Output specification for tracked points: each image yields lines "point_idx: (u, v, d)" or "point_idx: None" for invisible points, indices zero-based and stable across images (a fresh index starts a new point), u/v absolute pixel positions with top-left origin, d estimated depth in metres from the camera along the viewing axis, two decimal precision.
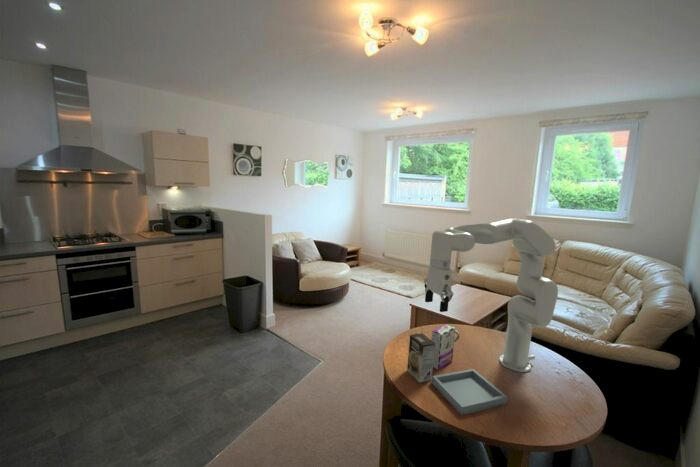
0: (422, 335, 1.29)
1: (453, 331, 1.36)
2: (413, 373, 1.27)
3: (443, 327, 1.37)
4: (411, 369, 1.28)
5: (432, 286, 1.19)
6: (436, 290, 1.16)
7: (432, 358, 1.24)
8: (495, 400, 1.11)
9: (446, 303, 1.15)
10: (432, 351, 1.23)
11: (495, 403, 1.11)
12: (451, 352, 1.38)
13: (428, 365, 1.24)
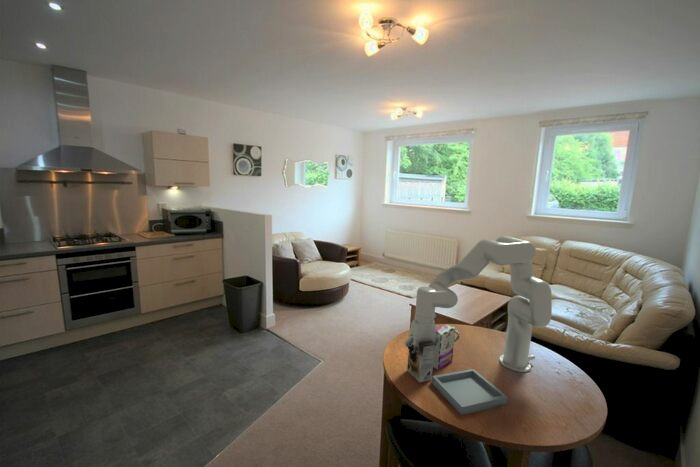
0: None
1: (453, 331, 1.36)
2: (413, 373, 1.27)
3: (443, 327, 1.37)
4: (411, 369, 1.28)
5: (425, 341, 1.24)
6: None
7: (432, 358, 1.24)
8: (495, 400, 1.11)
9: None
10: (432, 351, 1.23)
11: (495, 403, 1.11)
12: (451, 352, 1.38)
13: (428, 365, 1.24)
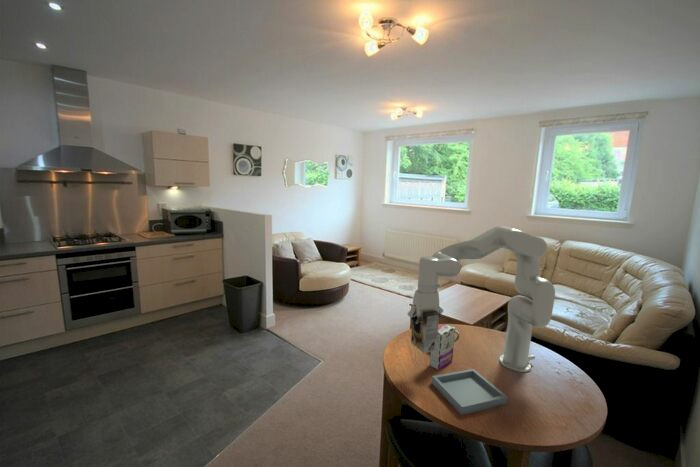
0: None
1: (453, 331, 1.36)
2: (417, 344, 1.25)
3: (443, 327, 1.37)
4: (415, 341, 1.26)
5: (429, 311, 1.22)
6: None
7: (436, 328, 1.22)
8: (495, 400, 1.11)
9: None
10: (436, 321, 1.21)
11: (495, 403, 1.11)
12: (451, 352, 1.38)
13: (432, 335, 1.22)
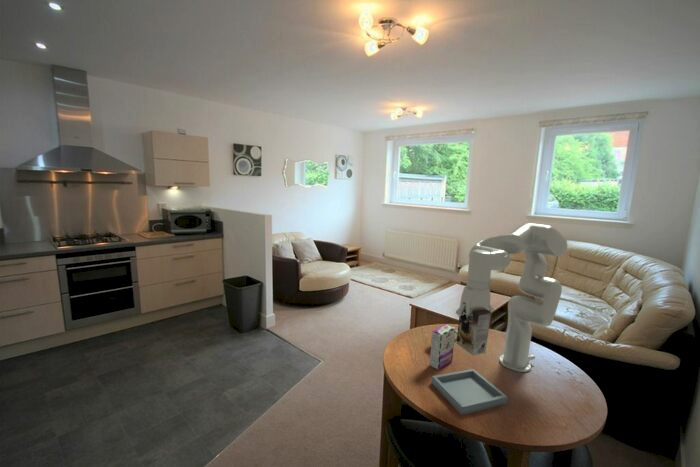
0: None
1: (453, 331, 1.36)
2: (465, 346, 1.15)
3: (443, 327, 1.37)
4: (462, 342, 1.16)
5: (479, 309, 1.12)
6: None
7: (487, 328, 1.12)
8: (495, 400, 1.11)
9: None
10: (487, 320, 1.11)
11: (495, 403, 1.11)
12: (451, 352, 1.38)
13: (483, 336, 1.11)
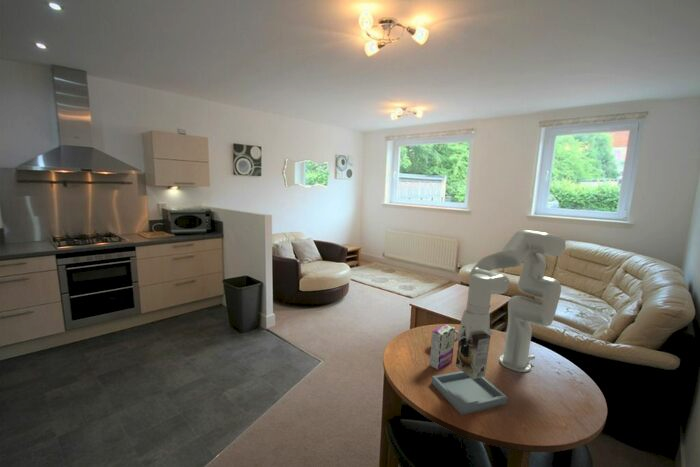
0: None
1: (453, 331, 1.36)
2: (464, 369, 1.15)
3: (443, 327, 1.37)
4: (461, 365, 1.17)
5: (479, 333, 1.12)
6: None
7: (486, 352, 1.12)
8: (495, 400, 1.11)
9: None
10: (487, 345, 1.12)
11: (495, 403, 1.11)
12: (451, 352, 1.38)
13: (482, 360, 1.12)
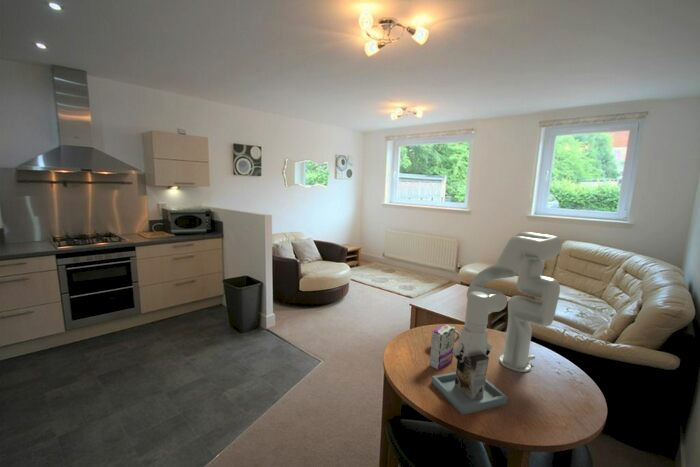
0: None
1: (453, 331, 1.36)
2: (462, 389, 1.17)
3: (443, 327, 1.37)
4: (460, 385, 1.18)
5: (477, 351, 1.13)
6: (482, 352, 1.15)
7: (485, 373, 1.14)
8: (495, 400, 1.11)
9: None
10: (485, 366, 1.13)
11: (495, 403, 1.11)
12: (451, 352, 1.38)
13: (481, 381, 1.14)
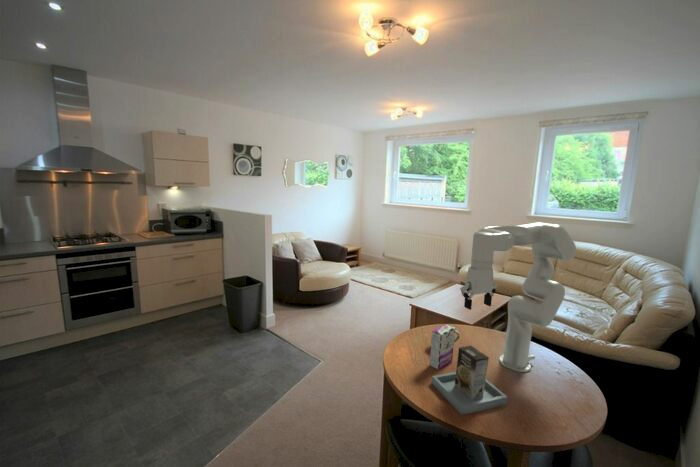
0: (472, 348, 1.19)
1: (453, 331, 1.36)
2: (462, 389, 1.17)
3: (443, 327, 1.37)
4: (460, 385, 1.18)
5: (484, 288, 1.18)
6: (488, 289, 1.19)
7: (485, 373, 1.14)
8: (495, 400, 1.11)
9: None
10: (485, 366, 1.13)
11: (495, 403, 1.11)
12: (451, 352, 1.38)
13: (480, 381, 1.14)
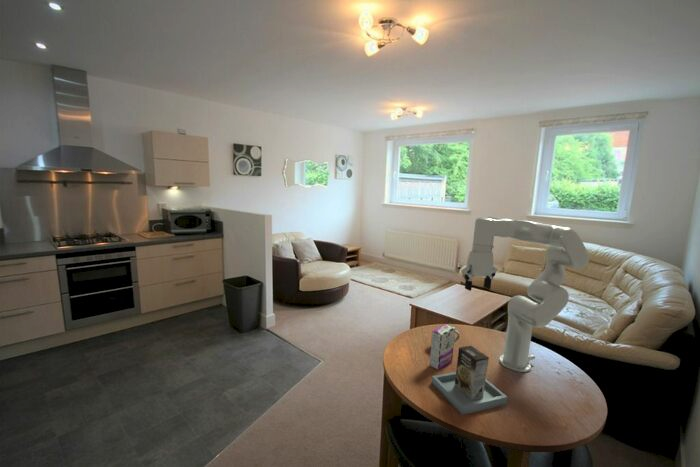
0: (472, 348, 1.19)
1: (453, 331, 1.36)
2: (462, 389, 1.17)
3: (443, 327, 1.37)
4: (460, 385, 1.18)
5: (484, 270, 1.25)
6: (488, 272, 1.26)
7: (485, 373, 1.14)
8: (495, 400, 1.11)
9: None
10: (485, 366, 1.13)
11: (495, 403, 1.11)
12: (451, 352, 1.38)
13: (480, 381, 1.14)
